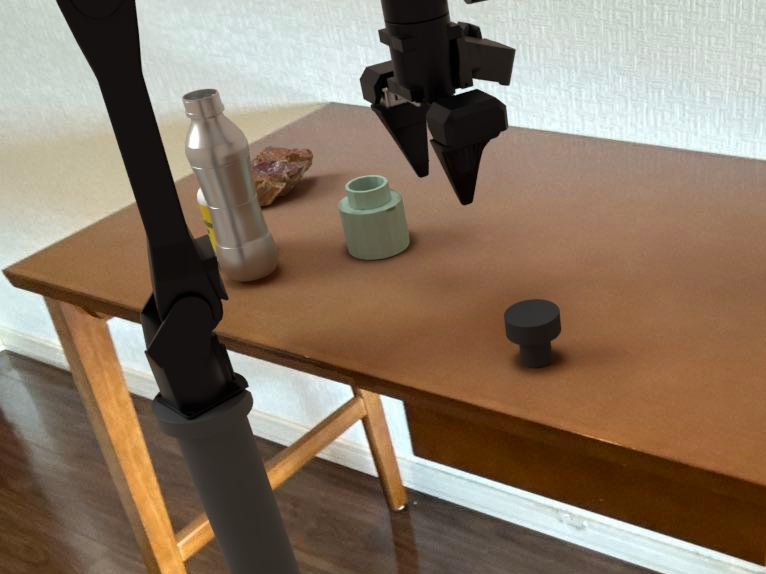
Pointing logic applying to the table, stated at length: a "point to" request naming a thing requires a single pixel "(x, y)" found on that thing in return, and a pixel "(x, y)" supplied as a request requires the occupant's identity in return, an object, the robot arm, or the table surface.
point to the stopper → (533, 329)
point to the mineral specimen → (278, 171)
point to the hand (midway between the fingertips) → (444, 189)
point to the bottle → (373, 218)
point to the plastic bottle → (228, 188)
